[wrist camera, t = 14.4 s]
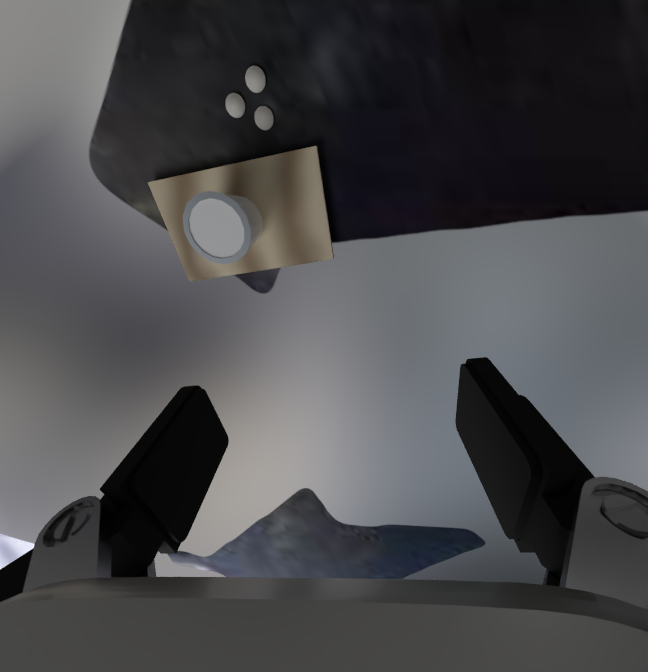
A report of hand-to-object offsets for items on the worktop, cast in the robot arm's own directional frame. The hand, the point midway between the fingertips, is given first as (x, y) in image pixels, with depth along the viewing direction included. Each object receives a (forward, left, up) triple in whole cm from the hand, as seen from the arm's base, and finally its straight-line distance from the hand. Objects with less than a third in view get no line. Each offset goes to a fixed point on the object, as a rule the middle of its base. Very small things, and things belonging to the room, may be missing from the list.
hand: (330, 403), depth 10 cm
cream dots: (+7, -16, -28) cm, 33 cm away
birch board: (+11, -5, -28) cm, 31 cm away
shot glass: (+12, -5, -27) cm, 30 cm away
